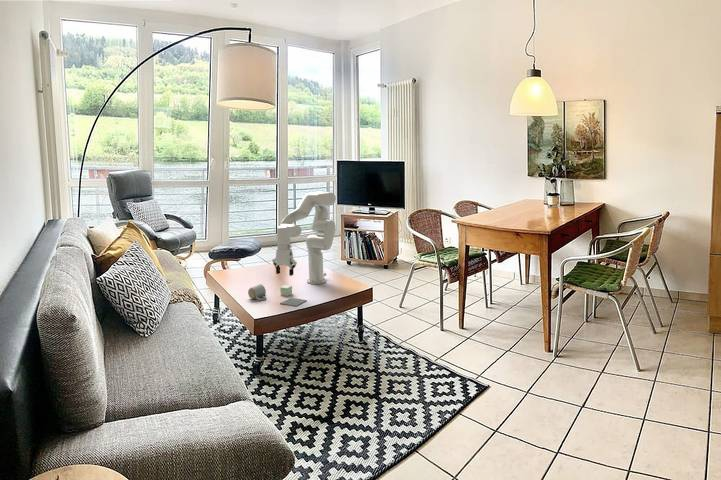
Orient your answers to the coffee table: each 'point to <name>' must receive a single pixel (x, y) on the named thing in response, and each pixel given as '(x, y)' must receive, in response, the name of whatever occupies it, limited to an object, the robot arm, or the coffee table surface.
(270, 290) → the coffee table surface
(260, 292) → the ceramic mug
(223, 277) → the coffee table surface
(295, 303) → the coaster
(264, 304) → the coffee table surface
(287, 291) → the cube
